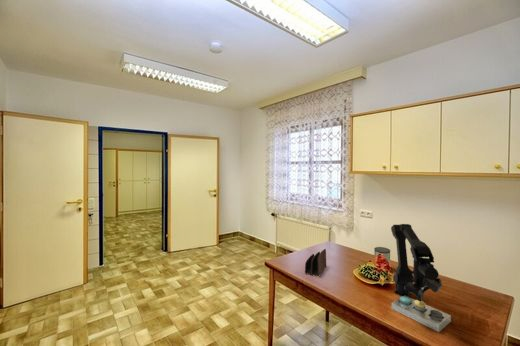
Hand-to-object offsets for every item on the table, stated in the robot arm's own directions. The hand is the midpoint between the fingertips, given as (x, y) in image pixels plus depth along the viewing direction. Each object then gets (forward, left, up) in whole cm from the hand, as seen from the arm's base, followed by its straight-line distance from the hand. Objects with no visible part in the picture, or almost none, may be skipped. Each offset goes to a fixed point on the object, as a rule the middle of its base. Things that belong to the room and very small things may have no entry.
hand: (419, 301), depth 119 cm
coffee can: (-40, +35, -7) cm, 54 cm away
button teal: (-7, 0, -6) cm, 9 cm away
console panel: (0, 0, -7) cm, 7 cm away
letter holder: (-65, -5, -7) cm, 66 cm away
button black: (+7, 0, -6) cm, 9 cm away
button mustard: (0, 0, -5) cm, 5 cm away
